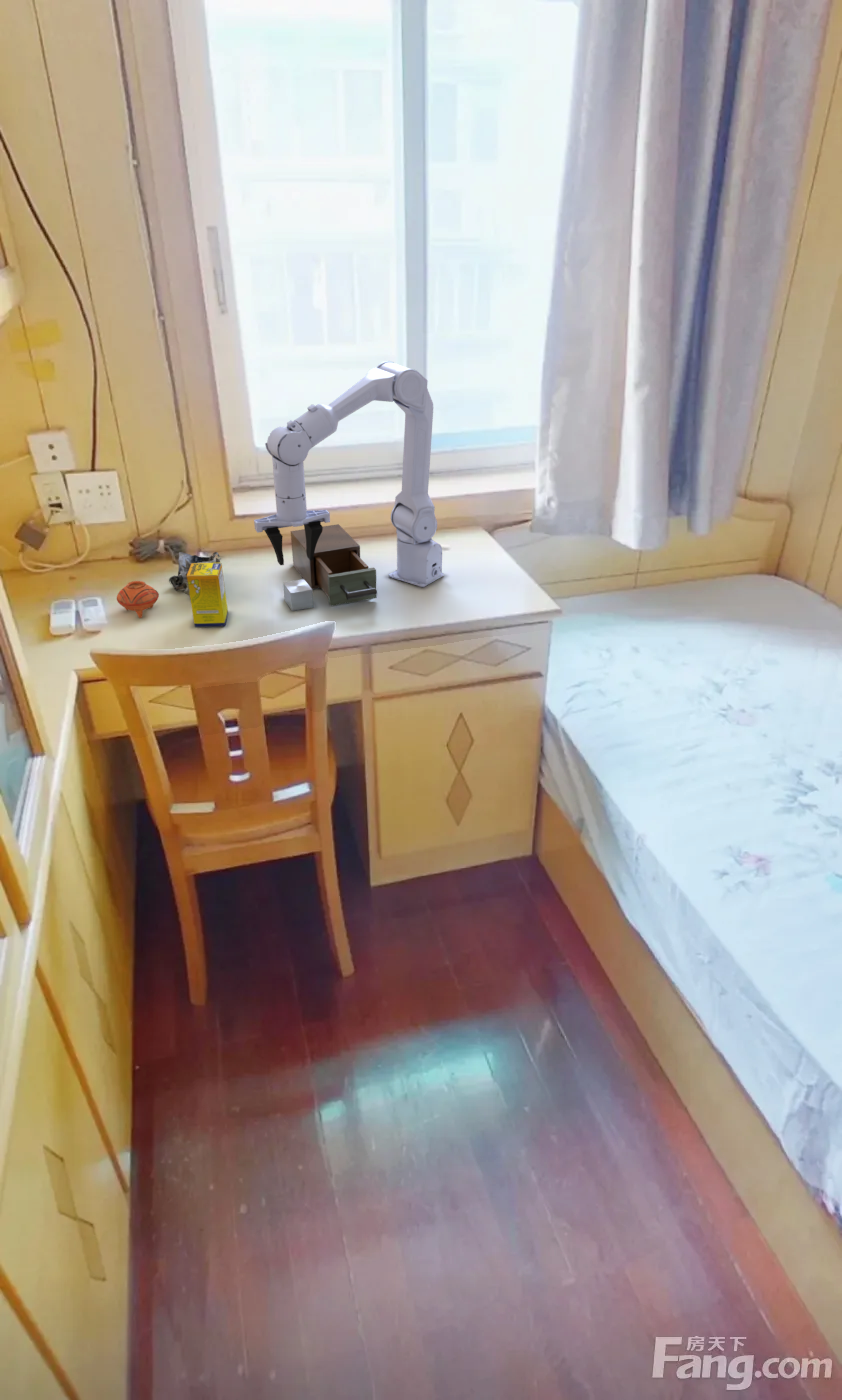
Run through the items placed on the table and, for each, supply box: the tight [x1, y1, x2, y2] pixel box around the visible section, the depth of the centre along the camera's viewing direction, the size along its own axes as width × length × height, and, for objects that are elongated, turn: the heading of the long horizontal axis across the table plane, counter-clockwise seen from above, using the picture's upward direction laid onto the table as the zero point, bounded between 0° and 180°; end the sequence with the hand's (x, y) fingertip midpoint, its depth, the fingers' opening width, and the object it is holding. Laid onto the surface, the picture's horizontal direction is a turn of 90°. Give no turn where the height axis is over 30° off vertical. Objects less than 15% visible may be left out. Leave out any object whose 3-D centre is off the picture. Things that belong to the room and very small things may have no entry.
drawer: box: [314, 550, 378, 607], centre depth 169 cm, size 18×10×6 cm, turn 24°
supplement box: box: [187, 562, 229, 628], centre depth 160 cm, size 6×6×11 cm
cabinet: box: [290, 523, 361, 590], centre depth 180 cm, size 14×11×8 cm
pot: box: [116, 580, 160, 619], centre depth 164 cm, size 8×8×7 cm
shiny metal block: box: [282, 578, 314, 612], centre depth 168 cm, size 6×4×4 cm
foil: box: [168, 551, 222, 597], centre depth 173 cm, size 12×11×15 cm
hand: (295, 560), depth 164 cm, fingers open, 5 cm apart
